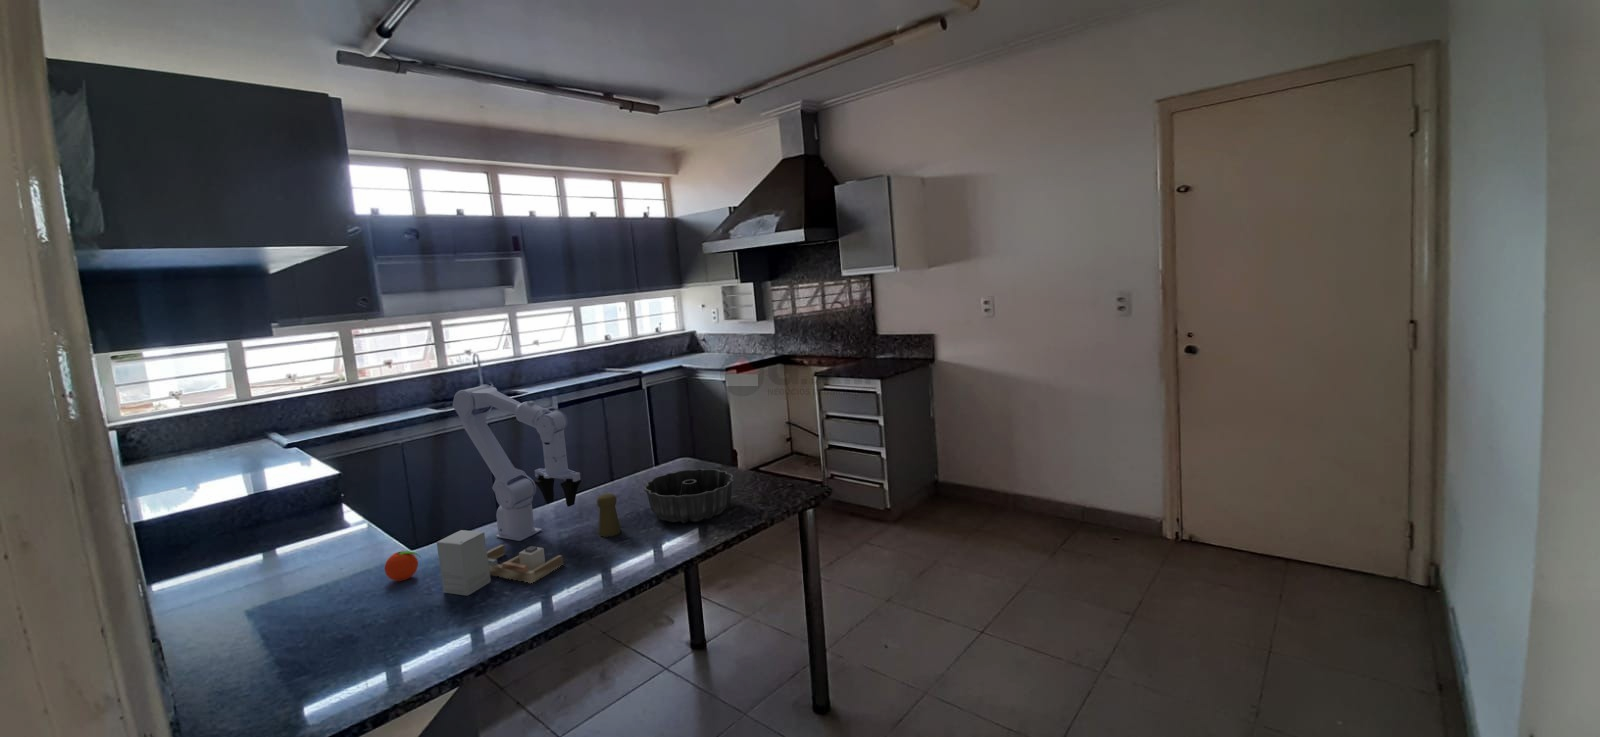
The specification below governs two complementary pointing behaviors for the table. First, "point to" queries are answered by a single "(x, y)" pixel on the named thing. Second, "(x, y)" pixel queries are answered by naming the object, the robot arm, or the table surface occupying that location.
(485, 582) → the supplement box
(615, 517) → the cork
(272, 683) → the table surface
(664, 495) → the bundt pan
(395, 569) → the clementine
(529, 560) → the plug
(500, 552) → the socket board
